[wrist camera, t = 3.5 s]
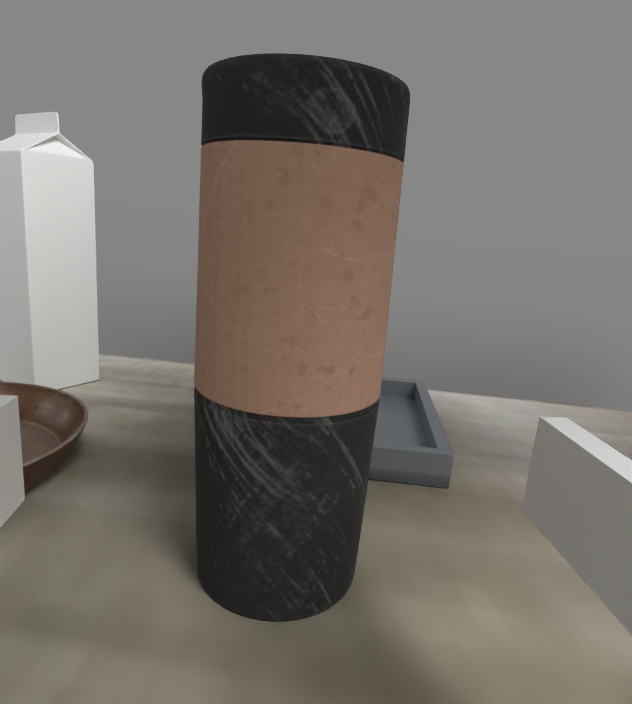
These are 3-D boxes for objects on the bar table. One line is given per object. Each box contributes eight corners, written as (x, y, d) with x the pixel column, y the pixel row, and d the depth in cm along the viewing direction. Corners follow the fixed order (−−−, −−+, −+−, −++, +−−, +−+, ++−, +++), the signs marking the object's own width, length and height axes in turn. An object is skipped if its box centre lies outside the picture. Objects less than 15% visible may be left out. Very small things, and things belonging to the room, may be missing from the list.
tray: (420, 404, 47) (423, 381, 46) (448, 488, 32) (453, 455, 31) (252, 387, 48) (253, 364, 47) (201, 460, 33) (202, 428, 32)
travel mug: (395, 578, 23) (458, 95, 18) (253, 660, 18) (288, 30, 13) (291, 502, 29) (319, 117, 24) (161, 550, 24) (162, 77, 19)
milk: (35, 396, 42) (16, 102, 36) (-4, 379, 45) (-27, 105, 39) (101, 380, 47) (93, 119, 41) (62, 366, 50) (49, 121, 44)
